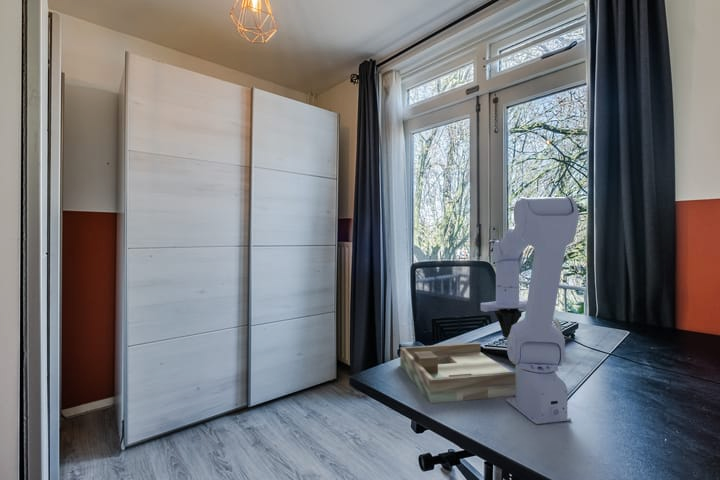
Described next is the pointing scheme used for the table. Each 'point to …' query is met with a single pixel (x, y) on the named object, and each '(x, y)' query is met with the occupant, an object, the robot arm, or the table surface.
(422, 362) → the block
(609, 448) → the table surface
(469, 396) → the board
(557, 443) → the table surface
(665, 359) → the table surface
